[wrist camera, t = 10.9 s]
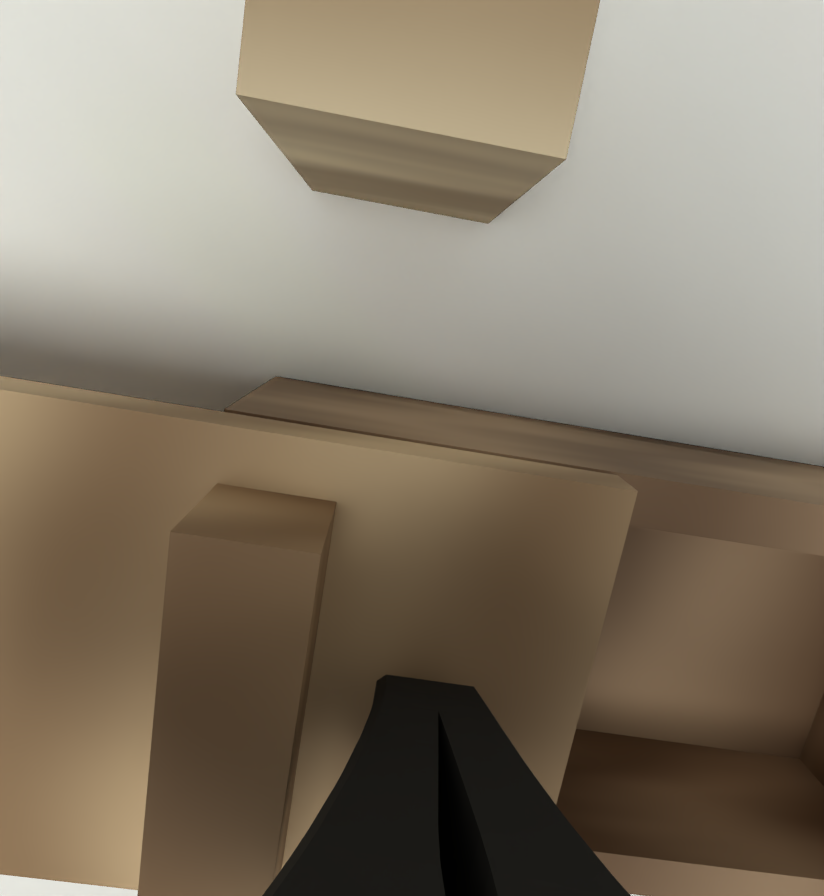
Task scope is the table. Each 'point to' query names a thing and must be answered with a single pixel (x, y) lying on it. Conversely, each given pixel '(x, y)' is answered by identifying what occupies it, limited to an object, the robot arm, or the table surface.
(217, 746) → the lid
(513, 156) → the tan wooden block
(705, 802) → the wooden box
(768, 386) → the table surface
